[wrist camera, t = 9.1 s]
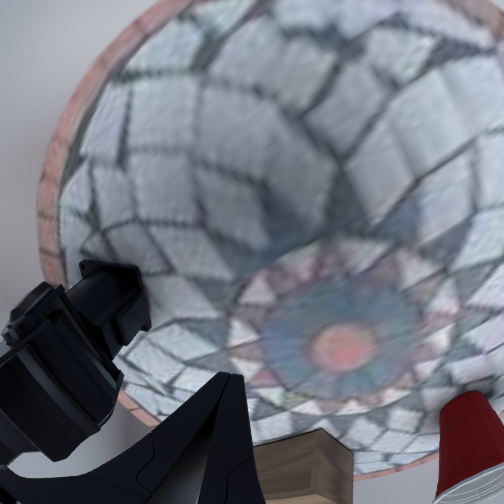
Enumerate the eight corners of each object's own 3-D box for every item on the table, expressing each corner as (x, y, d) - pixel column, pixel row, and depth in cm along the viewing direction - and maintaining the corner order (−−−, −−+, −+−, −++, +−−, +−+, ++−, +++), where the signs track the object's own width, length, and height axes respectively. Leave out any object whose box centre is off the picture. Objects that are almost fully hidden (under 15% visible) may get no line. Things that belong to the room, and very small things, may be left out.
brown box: (245, 449, 32) (231, 502, 25) (321, 429, 28) (316, 493, 21) (282, 471, 34) (274, 519, 27) (353, 454, 29) (352, 509, 22)
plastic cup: (481, 359, 21) (520, 458, 10) (510, 391, 22) (539, 468, 11) (399, 418, 26) (409, 515, 15) (443, 439, 27) (455, 515, 16)
